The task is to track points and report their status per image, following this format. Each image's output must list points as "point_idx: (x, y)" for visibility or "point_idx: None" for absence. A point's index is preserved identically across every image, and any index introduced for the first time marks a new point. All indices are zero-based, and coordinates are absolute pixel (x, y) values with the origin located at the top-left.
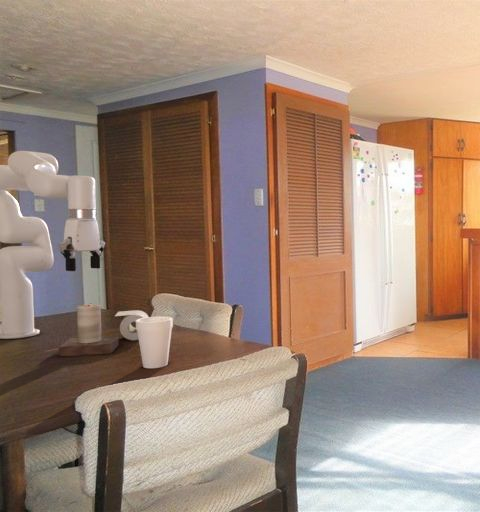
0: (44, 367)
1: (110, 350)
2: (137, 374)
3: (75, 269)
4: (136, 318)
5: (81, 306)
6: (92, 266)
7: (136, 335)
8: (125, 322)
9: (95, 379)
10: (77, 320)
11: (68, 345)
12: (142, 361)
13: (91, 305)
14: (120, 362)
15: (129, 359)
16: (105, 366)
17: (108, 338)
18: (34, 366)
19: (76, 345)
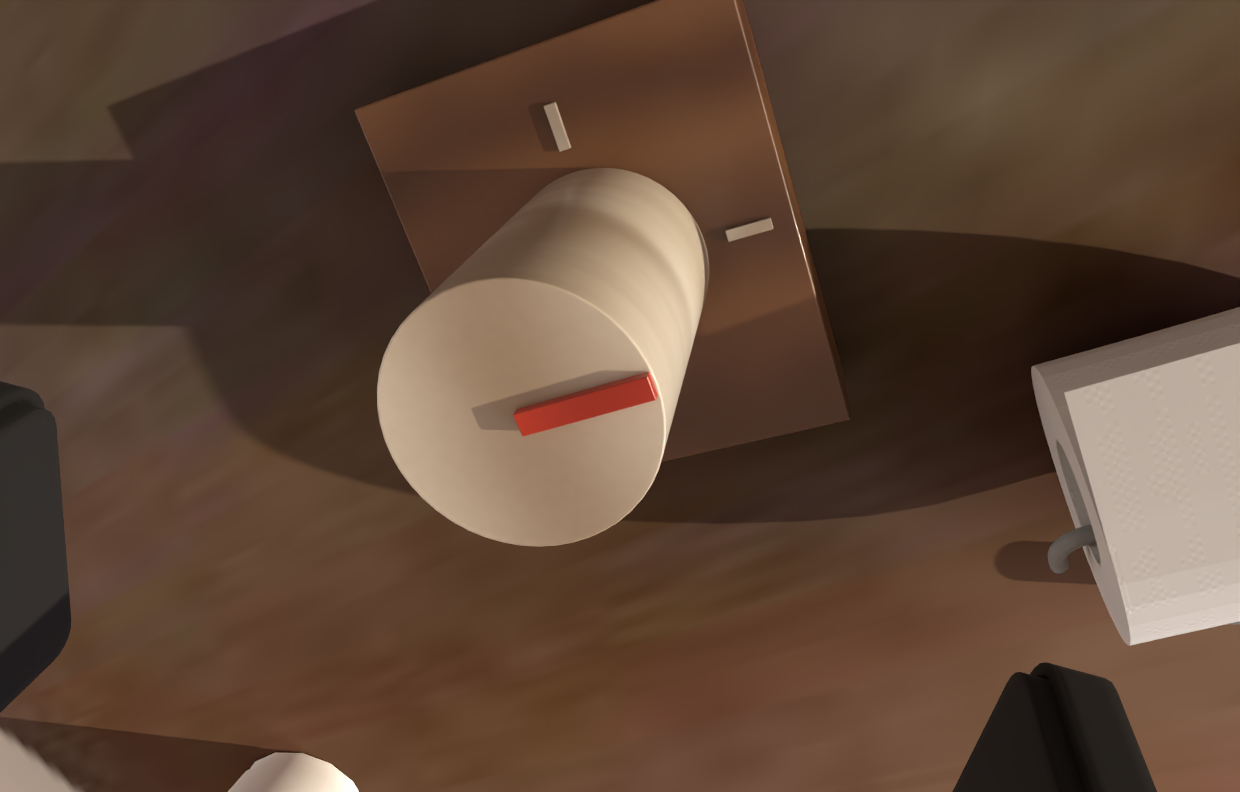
0: (101, 195)
1: None
2: (136, 771)
3: (20, 672)
4: (1111, 582)
5: (462, 346)
6: (1003, 758)
7: (1060, 477)
8: (1072, 460)
9: None
10: (481, 247)
11: (409, 174)
12: (242, 780)
13: (566, 432)
14: (324, 613)
15: (400, 636)
16: (224, 568)
17: (725, 384)
18: (100, 99)
19: (419, 249)
